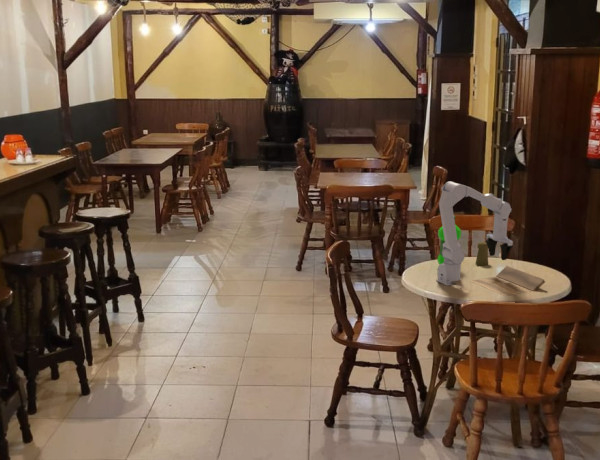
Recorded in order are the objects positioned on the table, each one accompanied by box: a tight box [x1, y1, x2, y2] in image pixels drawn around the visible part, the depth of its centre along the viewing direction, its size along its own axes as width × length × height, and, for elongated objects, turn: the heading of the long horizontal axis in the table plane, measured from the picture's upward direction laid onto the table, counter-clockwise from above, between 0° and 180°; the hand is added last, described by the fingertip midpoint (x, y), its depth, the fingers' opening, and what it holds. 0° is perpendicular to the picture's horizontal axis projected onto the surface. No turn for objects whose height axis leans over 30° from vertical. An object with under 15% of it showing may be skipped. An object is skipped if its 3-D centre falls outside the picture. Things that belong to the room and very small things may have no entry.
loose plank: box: [496, 265, 546, 292], centre depth 288 cm, size 7×22×2 cm
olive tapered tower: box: [475, 241, 489, 267], centre depth 318 cm, size 6×6×11 cm
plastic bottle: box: [437, 215, 462, 266], centre depth 312 cm, size 10×10×25 cm
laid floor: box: [470, 276, 531, 297], centre depth 284 cm, size 14×22×2 cm, turn 26°
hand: (497, 257), depth 298 cm, fingers open, 7 cm apart
